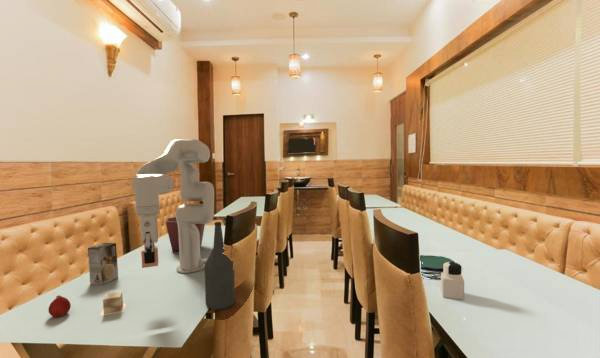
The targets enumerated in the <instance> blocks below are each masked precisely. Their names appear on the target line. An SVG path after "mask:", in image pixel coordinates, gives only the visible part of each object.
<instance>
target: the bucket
mask: <svg viewBox="0 0 600 358" xmlns="http://www.w3.org/2000/svg"><path fill="white" fill-rule="evenodd" d="M165 226H166V229H167V234H168V239H169V243H170V247H171V250H172V253H177V254H179V233H178V224H177V220H176V216H172V217H167V218H165ZM195 226H196V227H197V228H198V230H199V234H200V249H201V248H202V244H203V237H204V232H205V231H204V230H205V226H206V224H195Z"/></svg>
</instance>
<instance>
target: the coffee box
mask: <svg viewBox="0 0 600 358" xmlns="http://www.w3.org/2000/svg"><path fill="white" fill-rule="evenodd" d="M87 255H88V257H87V258H88V270H89V284H90V285H94V286H95V285H97V286H103V285H105V284H108V283H110V282H111V281H113V280H116V279H118V278H119V267H118V256H117V255H118V253H117V243H116V242H102V243H99V244H97V245H93V246H90V247H88V248H87Z"/></svg>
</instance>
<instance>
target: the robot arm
mask: <svg viewBox="0 0 600 358" xmlns="http://www.w3.org/2000/svg"><path fill="white" fill-rule="evenodd" d="M210 158H211V150H210V147H208V145H207V144H205V142H203V141H200V140H199V139H196V138H185V139H184V138H183V139H182V138H181V139H179V138H177V139H172V140H171V141H170V142H169V143H168V144H167V146H166V148H164V150H163V152H162V153H161V155H160V156H158V157H156V158H154V159H153V160H150V161H148V162H146V163H145V164H143V165H142V166H140V167H139V169H138V170H137V171H136V173H135V174H134V175H133V178H132V179H131V188H132V190H133V192H134V202H135V215H136V217H139V225H140V226H139V227H140V238H141V244H142V245H143V246H144V249H145V252H144V260H145V264H148V263H154V262H155V255H154V251H153V246H155V244H156V243H158V241H159V229H158V217H157V215H159V214H160V195H164V194H168V193H171V191H173V189H174V182H175V181H174V180H173V178H172V176H171V175H168V174H171V173H174V172H175V171H178V170H180V188H179V189H180V191H179V193H180V194H179V195H180V199H181V200H182V201H183V202H203V203H185V204H180V205H179V206H177V208H176V209H175V217H176V220H177V224H178V233H179V253H178V254H179V265H178V266H177V267H176V272H178V273H182V274H189V273H196V272H200V271H201V270H203V269H204V264H205V262H206V260H207V259H208V258H204V259H203V258H202V257H201V248H200V234H199V230H198V228H197V227H196V226H195V224H205V225H206V224H210V223H212V222H213V220H214V217H215V216H214V214H215V187H214V184H212V182H210V181H200V171H199V169H198V167H197V166H195V164H197V163H199V164H200V163H201V164H202V163H207V162H208V161H209V160H210ZM194 163H195V164H194Z"/></svg>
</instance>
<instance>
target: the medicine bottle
mask: <svg viewBox="0 0 600 358" xmlns="http://www.w3.org/2000/svg"><path fill="white" fill-rule="evenodd" d="M454 262H455V261H454ZM454 262H446V263H444V264H443V270H442V271H443V273H441V272H440V273H441V274H440V275H441V276H440V278H441V279H440V292H441V295H442V298H443V299H454V300H465V280H464V278H463V276H462V265H461V264H460V263H458V262H455V263H454Z"/></svg>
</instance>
